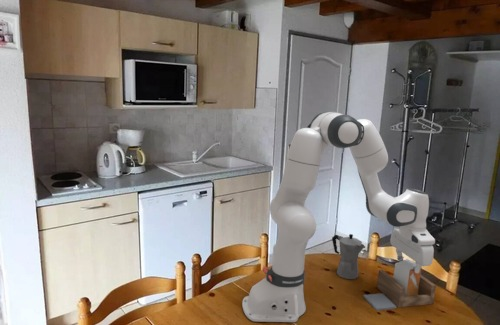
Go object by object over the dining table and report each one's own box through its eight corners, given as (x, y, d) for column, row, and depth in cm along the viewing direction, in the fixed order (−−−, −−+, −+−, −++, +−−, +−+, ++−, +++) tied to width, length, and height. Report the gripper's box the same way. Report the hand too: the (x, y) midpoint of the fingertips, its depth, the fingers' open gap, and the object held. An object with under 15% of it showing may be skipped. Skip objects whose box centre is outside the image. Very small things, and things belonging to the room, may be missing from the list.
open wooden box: (398, 307, 131) (400, 288, 129) (377, 287, 144) (379, 270, 143) (433, 303, 134) (435, 285, 133) (409, 284, 147) (411, 267, 146)
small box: (405, 302, 134) (409, 269, 132) (390, 294, 139) (394, 263, 137) (418, 296, 139) (422, 265, 136) (403, 288, 144) (407, 258, 142)
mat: (376, 310, 128) (376, 308, 128) (363, 296, 137) (363, 294, 137) (396, 308, 130) (396, 306, 130) (382, 295, 139) (382, 293, 138)
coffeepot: (367, 276, 153) (371, 236, 149) (355, 283, 146) (359, 242, 143) (335, 263, 164) (339, 226, 160) (323, 270, 157) (327, 230, 154)
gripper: (388, 222, 144) (384, 254, 146) (423, 242, 124) (418, 279, 127) (402, 221, 145) (398, 253, 147) (438, 241, 125) (433, 278, 128)
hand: (407, 266), depth 137 cm, fingers open, 8 cm apart
